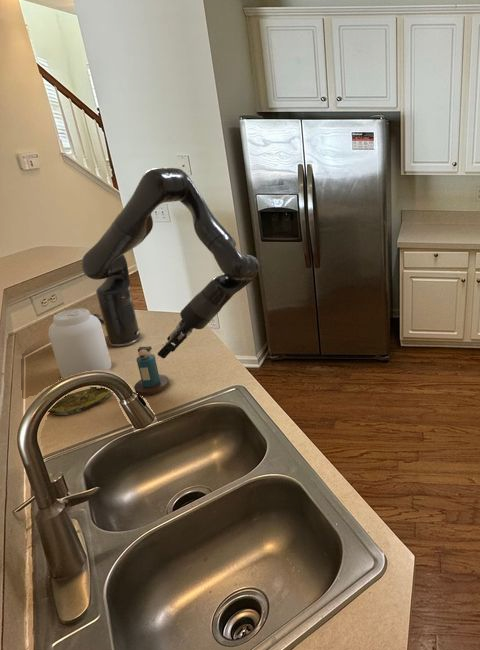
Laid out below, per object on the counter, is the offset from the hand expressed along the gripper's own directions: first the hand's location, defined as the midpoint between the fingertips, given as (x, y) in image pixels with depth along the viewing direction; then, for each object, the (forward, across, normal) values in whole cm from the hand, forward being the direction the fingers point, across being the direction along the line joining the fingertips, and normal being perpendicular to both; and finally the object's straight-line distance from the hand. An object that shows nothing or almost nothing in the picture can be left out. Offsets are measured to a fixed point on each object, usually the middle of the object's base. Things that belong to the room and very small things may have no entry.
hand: (165, 348), depth 121 cm
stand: (+13, 0, +5) cm, 14 cm away
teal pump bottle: (+12, 0, +4) cm, 12 cm away
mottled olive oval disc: (+25, +4, -7) cm, 26 cm away
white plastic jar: (+28, -12, -10) cm, 32 cm away
